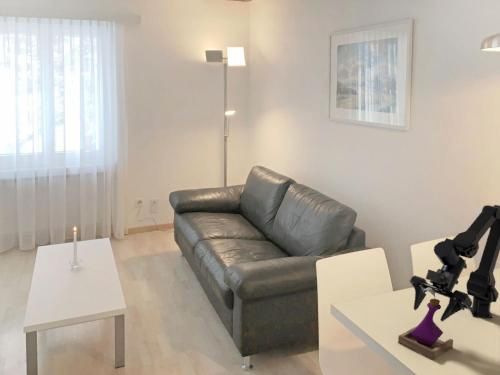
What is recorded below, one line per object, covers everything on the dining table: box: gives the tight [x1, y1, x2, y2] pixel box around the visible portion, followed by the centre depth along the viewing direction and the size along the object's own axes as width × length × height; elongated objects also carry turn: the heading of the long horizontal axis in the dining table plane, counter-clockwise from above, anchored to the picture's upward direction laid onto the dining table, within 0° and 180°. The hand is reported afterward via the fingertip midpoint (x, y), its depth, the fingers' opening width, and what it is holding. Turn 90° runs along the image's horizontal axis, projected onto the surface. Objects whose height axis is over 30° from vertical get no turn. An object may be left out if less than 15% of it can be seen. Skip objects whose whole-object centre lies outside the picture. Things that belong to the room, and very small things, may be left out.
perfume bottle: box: [411, 287, 444, 347], centre depth 151 cm, size 8×8×18 cm
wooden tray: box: [397, 325, 454, 361], centre depth 152 cm, size 11×12×2 cm
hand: (427, 315), depth 150 cm, fingers open, 9 cm apart
